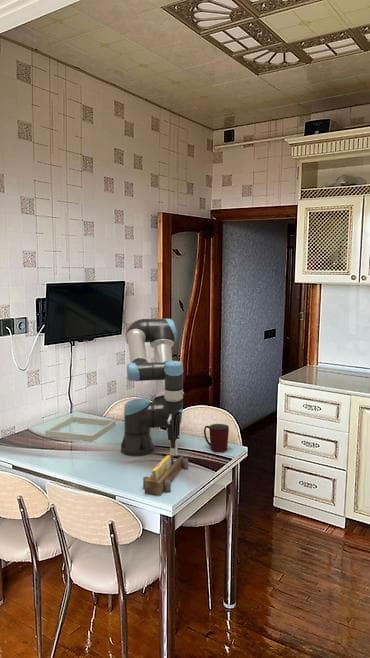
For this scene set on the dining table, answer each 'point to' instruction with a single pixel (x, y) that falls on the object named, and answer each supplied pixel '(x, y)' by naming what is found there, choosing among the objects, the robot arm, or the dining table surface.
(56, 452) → the dining table surface
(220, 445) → the mug
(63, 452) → the dining table surface
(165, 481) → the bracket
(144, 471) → the dining table surface
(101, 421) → the tray rim
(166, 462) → the candy box
